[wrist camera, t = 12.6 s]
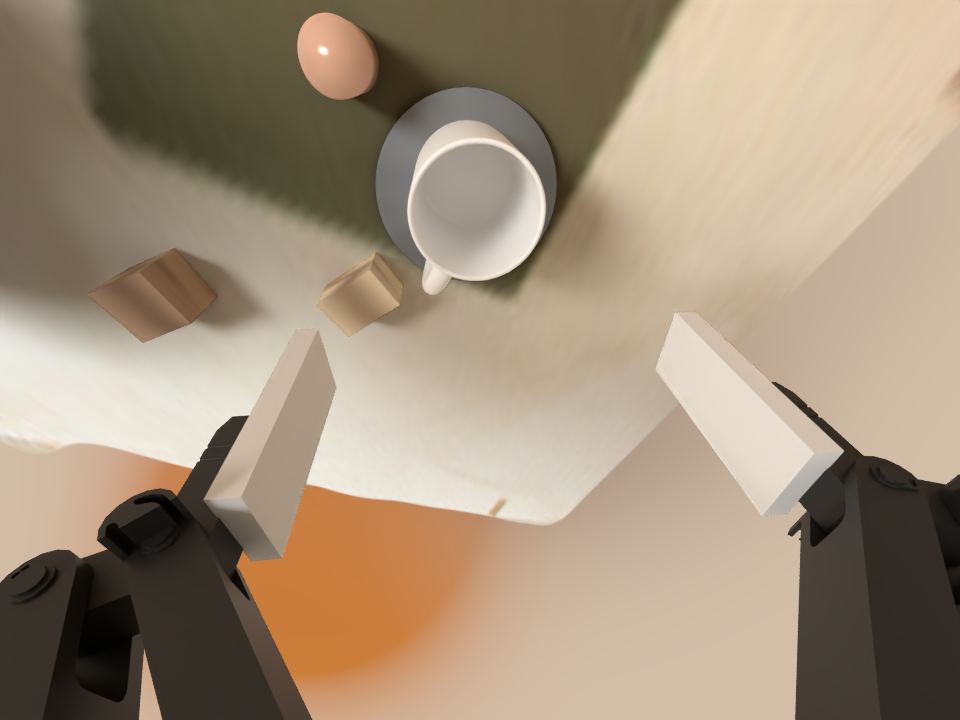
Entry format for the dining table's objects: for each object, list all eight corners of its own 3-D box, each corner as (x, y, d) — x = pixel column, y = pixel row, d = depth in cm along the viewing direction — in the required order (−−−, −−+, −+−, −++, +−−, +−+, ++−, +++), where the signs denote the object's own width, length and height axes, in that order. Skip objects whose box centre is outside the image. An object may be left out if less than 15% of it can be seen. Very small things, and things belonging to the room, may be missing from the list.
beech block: (355, 314, 38) (348, 336, 35) (326, 284, 36) (316, 305, 33) (403, 285, 37) (400, 305, 34) (375, 251, 35) (369, 269, 31)
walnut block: (174, 313, 37) (142, 342, 33) (128, 268, 34) (87, 294, 30) (218, 295, 36) (190, 323, 32) (175, 247, 33) (138, 272, 29)
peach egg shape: (327, 95, 27) (308, 100, 23) (312, 21, 25) (288, 12, 21) (383, 95, 28) (374, 99, 24) (373, 22, 25) (362, 13, 21)
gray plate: (390, 280, 36) (389, 283, 36) (360, 87, 27) (359, 87, 26) (544, 274, 37) (546, 277, 37) (565, 86, 28) (568, 87, 28)
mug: (467, 279, 36) (475, 340, 28) (383, 240, 33) (365, 296, 25) (537, 154, 30) (574, 186, 22) (442, 93, 27) (445, 103, 19)
